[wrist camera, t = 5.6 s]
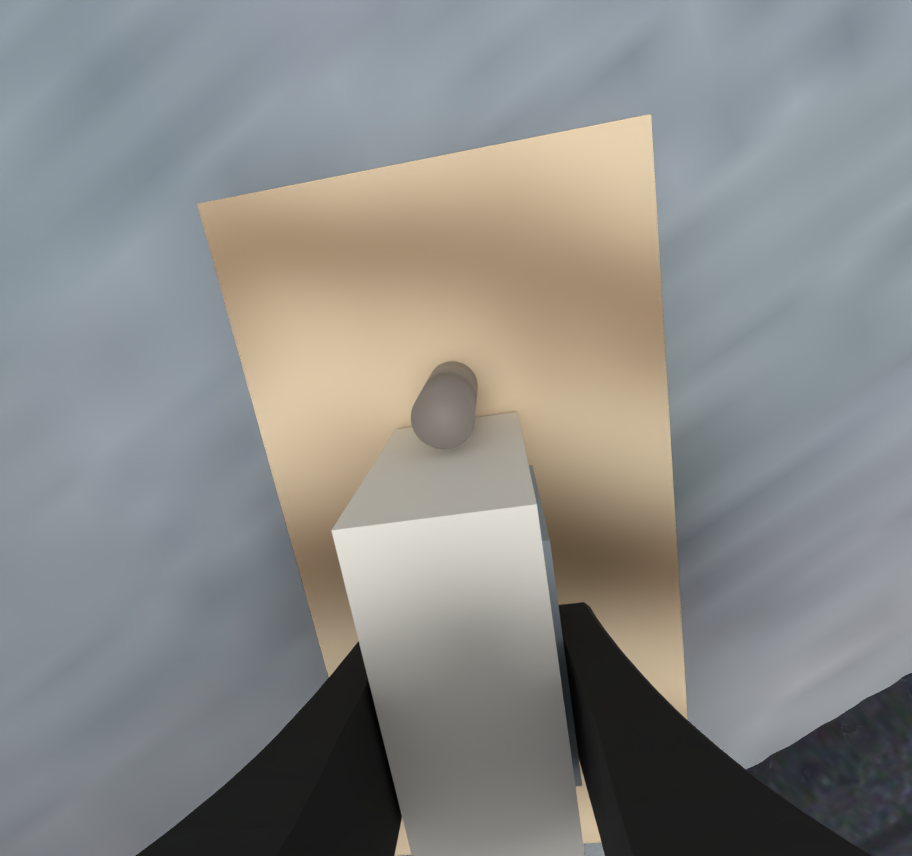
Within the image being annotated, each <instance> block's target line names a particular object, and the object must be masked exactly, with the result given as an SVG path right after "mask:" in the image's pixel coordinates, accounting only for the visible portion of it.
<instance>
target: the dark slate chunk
mask: <svg viewBox="0 0 912 856" xmlns="http://www.w3.org/2000/svg"><path fill="white" fill-rule="evenodd" d="M747 771H748V772H749V773H751V774H752V775H753V776H755V777H756V778H758V779H759V780H760V781H762V782H763V783H764V784H766V785H767V786H769V787H770V788H771V789H773V790H774V791H775V792H777V793H778V794H779V795H781V796H782V797H784V798H785V799H786V800H788V801H789V802H790V803H792V804H793V805H795V806H796V807H797V808H799V809H800V810H801V811H803V812H804V813H806V814H807V815H809V816H810V817H812V818H813V819H815V820H816V821H818V822H819V823H821V824H822V825H824V826H826V827H827V828H829V829H830V830H832V831H833V832H835V833H836V834H838V835H839V836H841V837H842V838H844V839H845V840H847V841H849V842H850V843H852V844H853V845H855V846H857V847H858V848H860V849H861V850H863V851H865V852H867V853H868V854H870V855H872V856H912V673H910V674H908V675H906V676H904V677H902V678H901V679H900V680H898V681H897V682H896V683H895V684H893V685H892V686H890V687H888V688H886V689H884V690H883V691H881V692H879V693H877V694H875V695H872V696H870V697H868V698H866V699H864V700H863V701H861V702H860V703H859V704H857V705H856V706H854V707H853V708H851V709H850V710H848V711H846V712H845V713H843V714H842V715H840V716H839V717H837V718H836V719H834V720H832V721H830V722H828V723H826V724H824V725H822V726H820V727H819V728H817V729H815V730H814V731H812V732H811V733H809V734H808V735H806V736H805V737H803V738H802V739H800V740H799V741H797V742H795V743H794V744H792V745H791V746H789V747H787V748H785V749H782V750H780V751H778V752H776V753H774V754H772V755H771V756H769V757H768V758H767V759H766V760H764V761H763V762H761V763H760V764H758V765H755V766H753V767H751V768H749V769H747Z"/></svg>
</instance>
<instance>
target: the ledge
mask: <svg viewBox="0 0 912 856" xmlns="http://www.w3.org/2000/svg"><path fill="white" fill-rule="evenodd" d="M197 205H198V209H199V212H200V216H201V219H202V223H203V227H204V230H205V234H206V237H207V241H208V245H209V248H210V252H211V255H212V259H213V263H214V266H215V270H216V273H217V277H218V281H219V284H220V288H221V291H222V295H223V299H224V302H225V306H226V309H227V313H228V317H229V320H230V324H231V328H232V331H233V335H234V338H235V342H236V346H237V349H238V353H239V356H240V360H241V364H242V367H243V371H244V374H245V378H246V382H247V385H248V389H249V392H250V396H251V400H252V403H253V407H254V410H255V414H256V418H257V421H258V425H259V428H260V432H261V436H262V439H263V443H264V446H265V450H266V454H267V457H268V461H269V464H270V468H271V472H272V475H273V479H274V482H275V486H276V490H277V493H278V497H279V500H280V504H281V508H282V511H283V515H284V518H285V522H286V526H287V529H288V533H289V536H290V540H291V544H292V547H293V551H294V554H295V558H296V562H297V565H298V569H299V573H300V576H301V580H302V583H303V587H304V591H305V594H306V598H307V601H308V605H309V609H310V612H311V616H312V619H313V623H314V627H315V630H316V634H317V637H318V641H319V645H320V648H321V652H322V655H323V659H324V663H325V666H326V670H327V673H328V677H330V676H331V674H332V673H333V672H334V671H335V670H336V668H337V667H338V666H339V665H340V663H341V662H342V661H343V660H344V658H345V657H346V656H347V655H348V654H349V652H350V651H351V650H352V649H353V647H354V646H355V645H356V644H357V642H358V641H359V640H358V636H357V632H356V628H355V624H354V620H353V616H352V612H351V608H350V604H349V600H348V596H347V592H346V588H345V583H344V579H343V575H342V571H341V567H340V563H339V559H338V555H337V551H336V547H335V543H334V539H333V535H332V531H331V530H332V529H333V527H334V526H335V524H336V522H337V521H338V519H339V518H340V516H341V515H342V513H343V511H344V510H345V508H346V507H347V505H348V504H349V502H350V500H351V499H352V497H353V496H354V494H355V492H356V491H357V489H358V488H359V486H360V485H361V483H362V481H363V480H364V478H365V477H366V475H367V474H368V472H369V470H370V469H371V467H372V466H373V464H374V463H375V461H376V459H377V458H378V456H379V455H380V453H381V452H382V450H383V448H384V447H385V445H386V444H387V442H388V440H389V439H390V437H391V436H392V434H393V433H394V431H395V429H402V428H408V427H412V428H413V430H414V432H415V434H416V435H417V437H418V438H419V439H420V440H421V441H422V442H424V443H425V444H427V445H428V446H431V447H433V448H437V449H450V448H454V447H456V446H458V445H460V444H462V443H463V442H464V441H465V440H466V439H467V438H468V437H469V436H470V434H471V432H472V430H473V427H474V423H475V418H477V417H484V416H491V415H497V414H504V413H511V412H517V413H518V418H519V422H520V427H521V432H522V437H523V441H524V446H525V451H526V455H527V460H528V465H532V466H533V470H534V474H535V479H536V483H537V487H538V492H539V496H540V500H541V505H542V509H543V513H544V517H545V522H546V526H547V530H548V535H549V539H550V545H551V553H552V560H553V568H554V576H555V583H556V591H557V598H558V605H562V604H571V603H580V602H585V603H586V604H587V605H589V606H590V607H591V609H592V611H593V612H594V614H595V616H596V617H597V619H598V620H599V622H600V623H601V624H602V626H603V627H604V629H605V630H606V631H607V633H608V634H609V635H610V636H611V638H612V639H613V640H614V642H615V643H616V644H617V645H618V647H619V648H620V649H621V650H622V652H623V653H624V654H625V655H626V656H627V657H628V659H629V660H630V661H631V662H632V663H633V664H634V665H635V667H636V668H637V669H638V670H639V671H640V672H641V673H642V675H643V676H644V677H645V678H646V679H647V680H648V681H649V682H650V683H651V684H652V685H653V686H654V688H655V689H656V690H657V691H658V692H659V693H660V694H661V695H662V696H663V697H664V698H665V699H666V700H667V701H668V702H669V703H670V704H671V705H672V706H673V707H674V708H675V709H676V710H677V711H678V712H679V713H681V714H682V715H683V716H684V717H685V718H686V719H687V720H688V717H687V701H686V684H685V668H684V651H683V635H682V618H681V602H680V585H679V569H678V552H677V536H676V519H675V503H674V486H673V470H672V453H671V437H670V420H669V404H668V387H667V371H666V354H665V338H664V321H663V305H662V288H661V272H660V255H659V239H658V222H657V206H656V189H655V173H654V156H653V140H652V123H651V114H649V115H644V116H639V117H634V118H629V119H624V120H619V121H614V122H609V123H603V124H598V125H593V126H588V127H583V128H578V129H573V130H568V131H563V132H558V133H553V134H548V135H543V136H538V137H533V138H528V139H523V140H518V141H512V142H507V143H502V144H497V145H492V146H487V147H482V148H477V149H472V150H467V151H462V152H457V153H452V154H447V155H442V156H437V157H432V158H427V159H422V160H416V161H411V162H406V163H401V164H396V165H391V166H386V167H381V168H376V169H371V170H366V171H361V172H356V173H351V174H346V175H341V176H336V177H331V178H325V179H320V180H315V181H310V182H305V183H300V184H295V185H290V186H285V187H280V188H275V189H270V190H265V191H260V192H255V193H250V194H245V195H240V196H235V197H229V198H224V199H219V200H214V201H209V202H204V203H199V204H197ZM579 764H580V761H579ZM580 772H581V779H582V786H576V794H577V801H578V809H579V816H580V823H581V831H582V838H583V843H598V842H601V838H600V835H599V831H598V827H597V824H596V820H595V816H594V813H593V809H592V805H591V802H590V798H589V794H588V791H587V787H586V784H585V780H584V776H583V772H582V769H581V765H580ZM395 855H411V851H410V847H409V843H408V839H407V835H406V831H405V826H404V822H403V818H402V820H401V825H400V830H399V835H398V840H397V846H396V851H395Z"/></svg>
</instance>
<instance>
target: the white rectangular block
mask: <svg viewBox="0 0 912 856" xmlns="http://www.w3.org/2000/svg"><path fill="white" fill-rule="evenodd" d="M331 531H332V535H333V539H334V543H335V547H336V551H337V555H338V559H339V563H340V567H341V571H342V575H343V579H344V583H345V588H346V592H347V596H348V600H349V604H350V608H351V612H352V616H353V620H354V624H355V628H356V632H357V636H358V640H359V644H360V648H361V652H362V656H363V660H364V664H365V669H366V673H367V677H368V681H369V685H370V689H371V693H372V697H373V701H374V705H375V709H376V713H377V717H378V721H379V725H380V729H381V733H382V737H383V741H384V745H385V750H386V754H387V758H388V762H389V766H390V770H391V774H392V778H393V782H394V786H395V790H396V794H397V798H398V802H399V806H400V810H401V814H402V818H403V822H404V826H405V831H406V835H407V839H408V843H409V847H410V851H411V855H412V856H585V853H584V845H583V838H582V831H581V823H580V816H579V809H578V801H577V794H576V786H582V779H581V772H580V764H579V757H578V749H577V742H576V734H575V726H574V719H573V711H572V704H571V696H570V689H569V681H568V674H567V666H566V659H565V651H564V643H563V636H562V628H561V621H560V613H559V606H558V598H557V591H556V583H555V576H554V568H553V560H552V553H551V545H550V539H549V535H548V530H547V526H546V522H545V517H544V513H543V509H542V505H541V500H540V496H539V492H538V487H537V483H536V479H535V474H534V470H533V466H532V465H528V460H527V455H526V451H525V446H524V441H523V437H522V432H521V427H520V422H519V418H518V413H517V412H511V413H504V414H497V415H491V416H484V417H477V418H475V423H474V427H473V430H472V432H471V434H470V436H469V437H468V438H467V439H466V440H465V441H464V442H463V443H462V444H460V445H458V446H456V447H454V448H450V449H437V448H433V447H431V446H428V445H427V444H425V443H424V442H422V441H421V440H420V439H419V438H418V437H417V435H416V434H415V432H414V430H413V428H412V427H408V428H402V429H395V431H394V433H393V434H392V436H391V437H390V439H389V440H388V442H387V444H386V445H385V447H384V448H383V450H382V452H381V453H380V455H379V456H378V458H377V459H376V461H375V463H374V464H373V466H372V467H371V469H370V470H369V472H368V474H367V475H366V477H365V478H364V480H363V481H362V483H361V485H360V486H359V488H358V489H357V491H356V492H355V494H354V496H353V497H352V499H351V500H350V502H349V504H348V505H347V507H346V508H345V510H344V511H343V513H342V515H341V516H340V518H339V519H338V521H337V522H336V524H335V526H334V527H333V529H332V530H331Z"/></svg>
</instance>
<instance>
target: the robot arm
mask: <svg viewBox="0 0 912 856" xmlns="http://www.w3.org/2000/svg"><path fill="white" fill-rule="evenodd" d="M558 606H559V613H560V621H561V628H562V636H563V643H564V651H565V659H566V666H567V674H568V681H569V689H570V696H571V704H572V711H573V719H574V726H575V734H576V742H577V749H578V757H579V761H580V765H581V769H582V772H583V776H584V780H585V784H586V787H587V791H588V794H589V798H590V802H591V805H592V809H593V813H594V816H595V820H596V824H597V827H598V831H599V835H600V838H601V842H602V846H603V849H604V853H605V856H872V855H870V854H868V853H867V852H865V851H863V850H861V849H860V848H858V847H857V846H855V845H853V844H852V843H850V842H849V841H847V840H845V839H844V838H842V837H841V836H839V835H838V834H836V833H835V832H833V831H832V830H830V829H829V828H827V827H826V826H824V825H822V824H821V823H819V822H818V821H816V820H815V819H813V818H812V817H810V816H809V815H807V814H806V813H804V812H803V811H801V810H800V809H799V808H797V807H796V806H795V805H793V804H792V803H790V802H789V801H788V800H786V799H785V798H784V797H782V796H781V795H779V794H778V793H777V792H775V791H774V790H773V789H771V788H770V787H769V786H767V785H766V784H764V783H763V782H762V781H760V780H759V779H758V778H756V777H755V776H753V775H752V774H751V773H749V772H748V771H747V770H746V769H744V768H743V767H742V766H741V765H739V764H738V763H737V762H736V761H734V760H733V759H732V758H731V757H730V756H728V755H727V754H726V753H725V752H723V751H722V750H721V749H720V748H719V747H717V746H716V745H715V744H714V743H713V742H712V741H710V740H709V739H708V738H707V737H706V736H705V735H704V734H702V733H701V732H700V731H699V730H698V729H697V728H696V727H694V726H693V725H692V724H691V723H690V722H689V721H688V720H687V719H686V718H685V717H684V716H683V715H682V714H681V713H679V712H678V711H677V710H676V709H675V708H674V707H673V706H672V705H671V704H670V703H669V702H668V701H667V700H666V699H665V698H664V697H663V696H662V695H661V694H660V693H659V692H658V691H657V690H656V689H655V688H654V686H653V685H652V684H651V683H650V682H649V681H648V680H647V679H646V678H645V677H644V676H643V675H642V673H641V672H640V671H639V670H638V669H637V668H636V667H635V665H634V664H633V663H632V662H631V661H630V660H629V659H628V657H627V656H626V655H625V654H624V653H623V652H622V650H621V649H620V648H619V647H618V645H617V644H616V643H615V642H614V640H613V639H612V638H611V636H610V635H609V634H608V633H607V631H606V630H605V629H604V627H603V626H602V624H601V623H600V622H599V620H598V619H597V617H596V616H595V614H594V612H593V611H592V609H591V607H590V606H589V605H587V604H586V603H585V602H580V603H571V604H562V605H558ZM401 820H402V814H401V810H400V806H399V802H398V798H397V794H396V790H395V786H394V782H393V778H392V774H391V770H390V766H389V762H388V758H387V754H386V750H385V745H384V741H383V737H382V733H381V729H380V725H379V721H378V717H377V713H376V709H375V705H374V701H373V697H372V693H371V689H370V685H369V681H368V677H367V673H366V669H365V664H364V660H363V656H362V652H361V648H360V644H359V641H358V642H357V644H356V645H355V646H354V647H353V649H352V650H351V651H350V652H349V654H348V655H347V656H346V657H345V658H344V660H343V661H342V662H341V663H340V665H339V666H338V667H337V668H336V670H335V671H334V672H333V673H332V674H331V676H330V677H329V678H328V679H327V680H326V681H325V683H324V684H323V685H322V686H321V687H320V689H319V690H318V691H317V692H316V693H315V695H314V696H313V697H312V698H311V699H310V700H309V701H308V702H307V703H306V705H305V706H304V707H303V708H302V709H301V710H300V711H299V712H298V713H297V714H296V715H295V716H294V718H293V719H292V720H291V721H290V722H289V723H288V724H287V725H286V726H285V727H284V728H283V730H282V731H281V732H280V733H279V734H278V735H277V736H276V737H275V738H274V739H273V740H272V741H271V742H270V743H269V744H268V745H267V746H266V747H265V748H264V749H263V750H262V751H261V752H260V753H259V754H258V755H257V756H256V757H255V758H254V759H253V760H251V761H250V762H249V763H248V764H247V765H246V766H245V767H244V768H243V769H242V770H241V771H240V772H238V773H237V774H236V775H235V776H234V777H233V778H232V779H231V780H230V781H229V782H227V783H226V784H225V785H224V786H223V787H222V788H221V789H219V790H218V791H217V792H216V793H215V794H213V795H212V796H211V797H210V798H208V799H207V800H206V801H205V802H204V803H202V804H201V805H200V806H199V807H198V808H196V809H195V810H194V811H193V812H191V813H190V814H189V815H188V816H187V817H185V818H184V819H183V820H182V821H180V822H179V823H178V824H177V825H176V826H174V827H173V828H172V829H171V830H169V831H168V832H167V833H165V834H164V835H163V836H162V837H160V838H159V839H158V840H156V841H155V842H153V843H152V844H151V845H149V846H148V847H147V848H145V849H144V850H143V851H141V852H140V853H139V854H137V855H136V856H395V851H396V846H397V840H398V835H399V830H400V825H401Z"/></svg>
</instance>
